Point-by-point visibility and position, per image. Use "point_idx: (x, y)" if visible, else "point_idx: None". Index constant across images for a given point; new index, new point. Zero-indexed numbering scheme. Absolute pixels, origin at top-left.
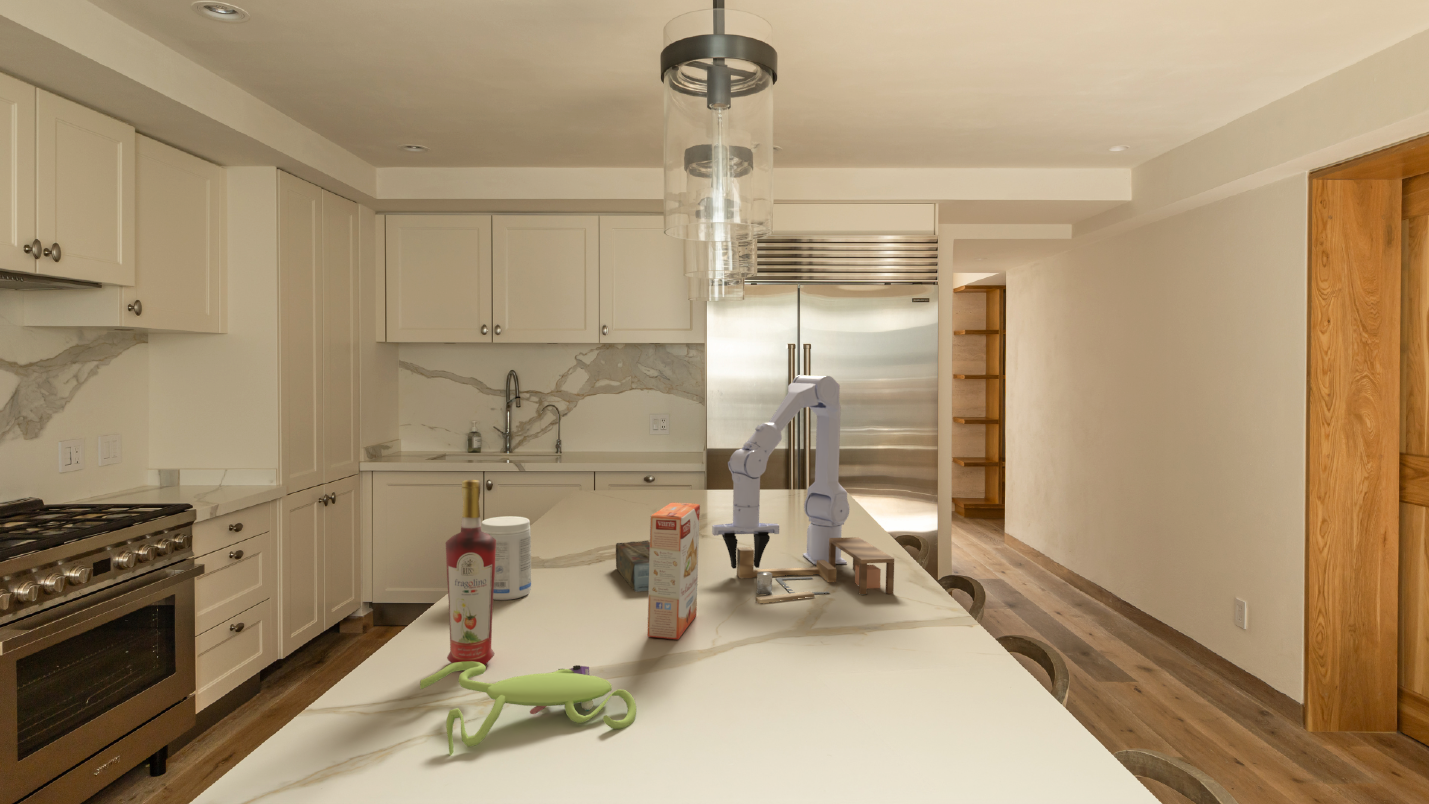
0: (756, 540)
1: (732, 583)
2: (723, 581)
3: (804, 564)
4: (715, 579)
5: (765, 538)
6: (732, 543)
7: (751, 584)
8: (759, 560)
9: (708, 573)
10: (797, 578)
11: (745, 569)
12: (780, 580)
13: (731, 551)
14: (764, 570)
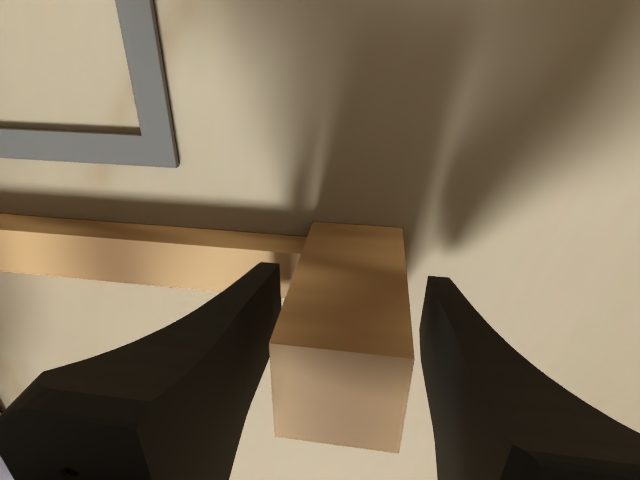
0: (202, 461)
1: (502, 117)
2: (544, 179)
3: (23, 380)
4: (575, 236)
5: (62, 395)
6: (564, 419)
7: (370, 64)
8: (241, 282)
9: (550, 356)
10: (39, 135)
11: (362, 254)
12: (149, 106)
13: (520, 359)
14: (225, 262)
